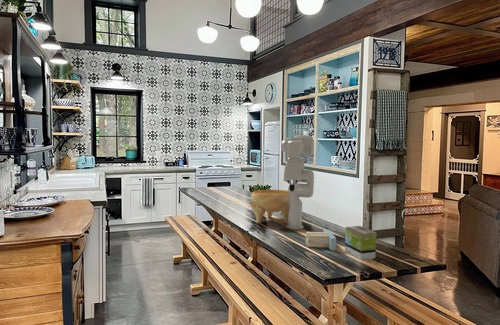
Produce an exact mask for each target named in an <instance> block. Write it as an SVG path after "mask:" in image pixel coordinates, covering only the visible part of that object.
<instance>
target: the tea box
mask: <svg viewBox="0 0 500 325" xmlns="http://www.w3.org/2000/svg"><path fill="white" fill-rule="evenodd" d="M377 235H378V234H377V232H376V231H373V230H371V229H369V228H366V227H363V226H361V225H356V226H355V225H353V226H346V227H345V236H344V238H345V241H344V252H345V253H348V254H350V255H351V256H353V257H355V258H356V259H358V260H360V261H362V260H363V261H364V259H365V260H371V259H376V251H377V250H376V249H377V237H378V236H377Z"/></svg>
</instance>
